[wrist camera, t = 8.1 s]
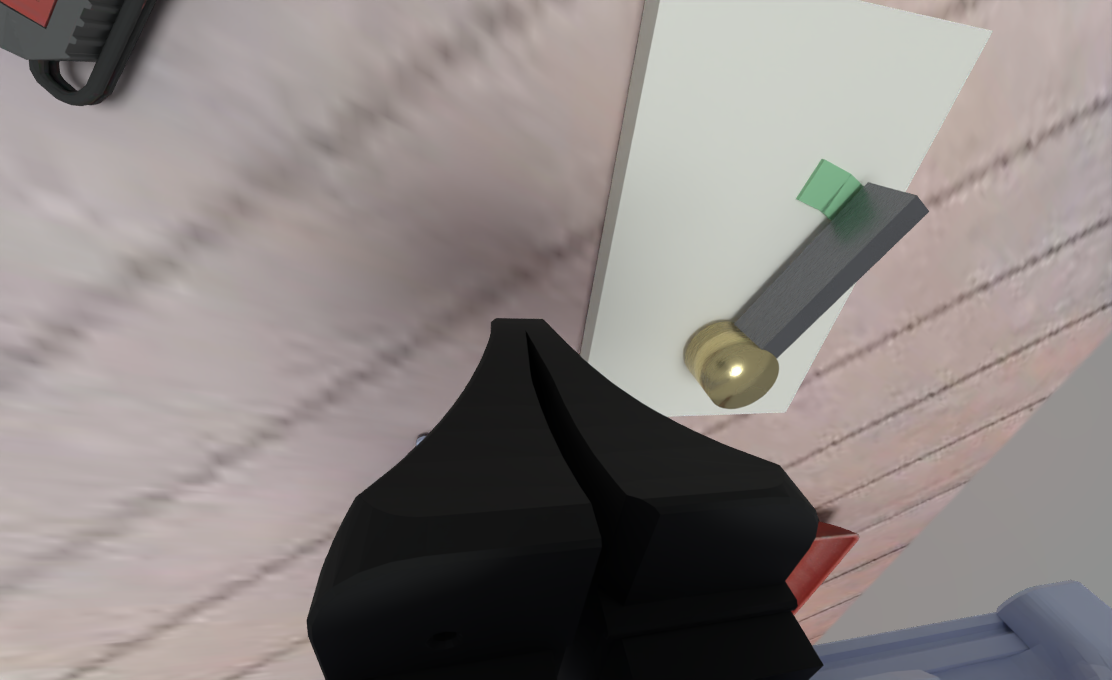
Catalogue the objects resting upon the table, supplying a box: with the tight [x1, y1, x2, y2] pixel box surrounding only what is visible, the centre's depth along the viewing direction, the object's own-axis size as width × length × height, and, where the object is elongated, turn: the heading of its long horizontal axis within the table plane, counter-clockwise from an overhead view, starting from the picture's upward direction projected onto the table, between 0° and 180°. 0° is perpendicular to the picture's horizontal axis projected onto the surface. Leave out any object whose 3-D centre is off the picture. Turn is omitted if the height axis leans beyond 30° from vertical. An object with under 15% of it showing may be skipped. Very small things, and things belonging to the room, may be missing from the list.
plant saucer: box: [785, 522, 860, 615], centre depth 39 cm, size 18×18×3 cm
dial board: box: [580, 0, 993, 417], centre depth 21 cm, size 20×14×2 cm
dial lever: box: [685, 182, 929, 409], centre depth 20 cm, size 12×4×3 cm, turn 145°
